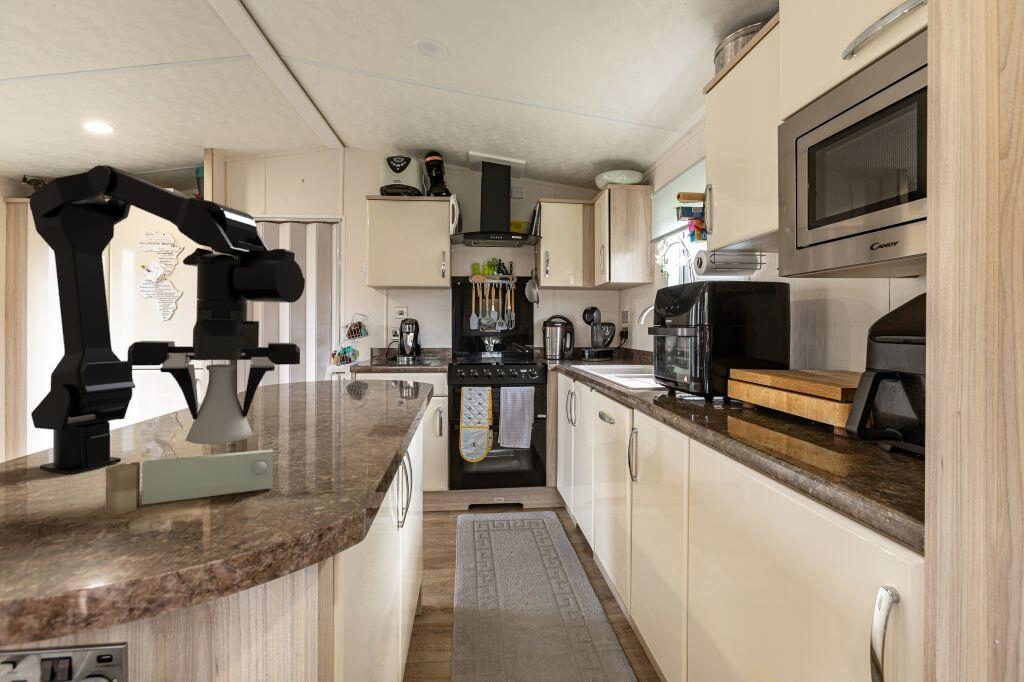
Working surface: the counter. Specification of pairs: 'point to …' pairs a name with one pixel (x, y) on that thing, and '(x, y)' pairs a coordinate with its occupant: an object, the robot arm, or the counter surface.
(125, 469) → the door frame
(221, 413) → the flask
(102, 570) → the counter surface
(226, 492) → the door
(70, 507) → the counter surface
